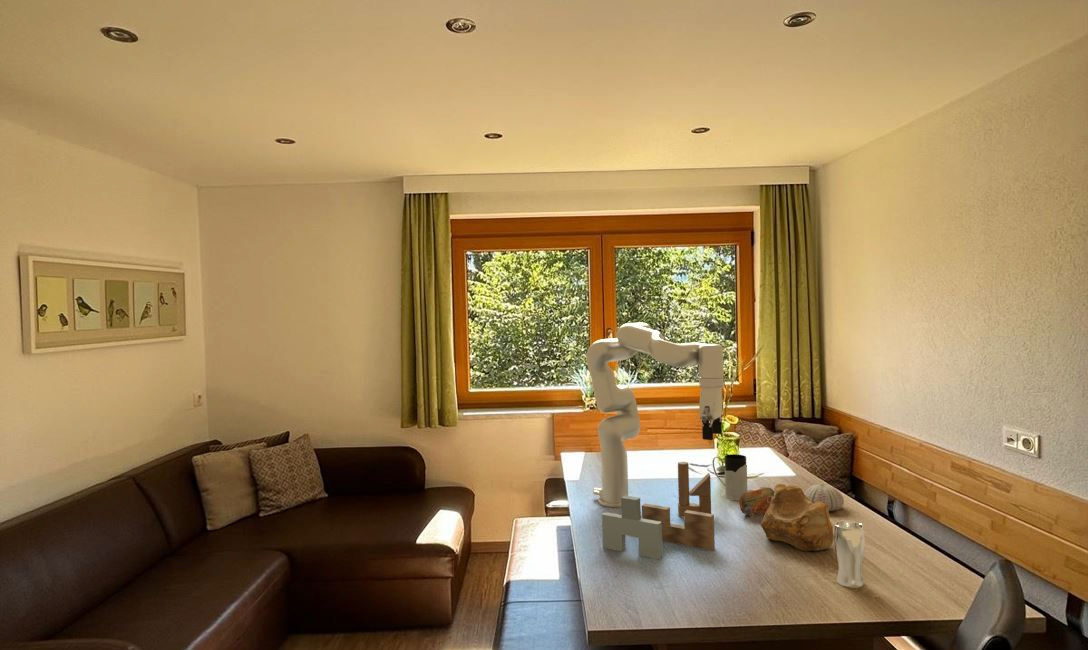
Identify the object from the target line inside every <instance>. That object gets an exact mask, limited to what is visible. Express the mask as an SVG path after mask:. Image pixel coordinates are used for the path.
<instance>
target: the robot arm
mask: <svg viewBox="0 0 1088 650" xmlns="http://www.w3.org/2000/svg"><path fill="white" fill-rule="evenodd" d="M615 336H616V337H615V338H613V337H612V338H604V339H603V338H602V339H598V340H596V341H594V342H593V343H591V344H590V346H589V347H588V349H587V352H586V355H585V356H586V357H585V359H586V365H587V369H588V371H589V374H590V378H591V383H592V389H593V393H594V398H595V404H596V407H597V409H598V410H599V412H601V413H603V414H610V413H617V414H615V415H611V416H607V417H605V418H603V419H602V420H601V421H600V422H599V423H598V425H597V436H598V440H599V445H600V447H599V448H600V458H601V488H599V487H594V488H593V495H596V496H597V495H598V496H599V497H598V499H597V501H598V504H599V505H602V506H603V507H609V508H621V498H622V497H623V496H629V474H628V473H629V472H628V469H629V467H628V466H629V465H628V451H627V449H626V447H625V444H624V443H623V442H624V441H628V440H630V439H634V438H636V437H637V436H638V435H639V433H640V431H641V419H640V415H639V410H638V405H637V401H636V397H635V394H634V392H633V390H632V389H631V388H630V387H629V386H627V385H625V384H617V382H616V379H615V378H616V377H615V374H614V372H613V370H612V368H611V367H610V365H609V364H608V363H610V362H611V363H612V362H621V361H625V360H629V359H630V358H632V357H633V356H635V355H636V354H638V353H640V352H641V353H644V354H646V355H650V356H651V358H653V359H654V360H655V361H657V362H659V363H662V364H665V365H668V366H670V367H675V368H684V367H694V366H698V388H699V389H700V390H699V391H700V392H699V405H698V407H699V408H698V409H699V414H698V416H699V419H700V420H701V422H702V424H701V429H702V435H701V436H702V440H703V441H704V440H706V441H713V440H714V434H715V435H716V434H717V435H721V434H722V433H723V427H722V425H723V423H722V415H723V394H722V389H723V388H725V386H724V385H725V384H724V348H723V346H722V345H721V344H720V343H701V342H694V341H693V342H682V343H675V342H670V341H667V340H664V339H665V338H664V335H663V334H662V333H661V332H660V331H658V330H655V329H653V328H652V326H651V325H650V324H648V323H645V322H630V323H629V322H628V323H624V324H622V325H621V326H620V327H619V328H618V329H617V331H616V335H615Z"/></svg>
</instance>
